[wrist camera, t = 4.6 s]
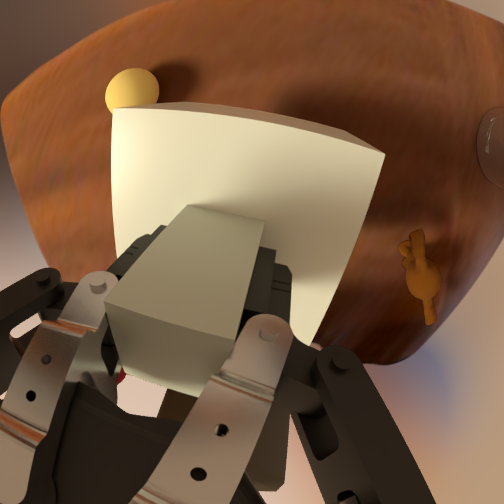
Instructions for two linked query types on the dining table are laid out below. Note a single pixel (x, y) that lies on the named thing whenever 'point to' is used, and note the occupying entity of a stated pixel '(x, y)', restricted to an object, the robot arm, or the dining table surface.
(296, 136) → the cover
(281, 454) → the bottle
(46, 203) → the dining table surface
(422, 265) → the toy figurine
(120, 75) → the ball
